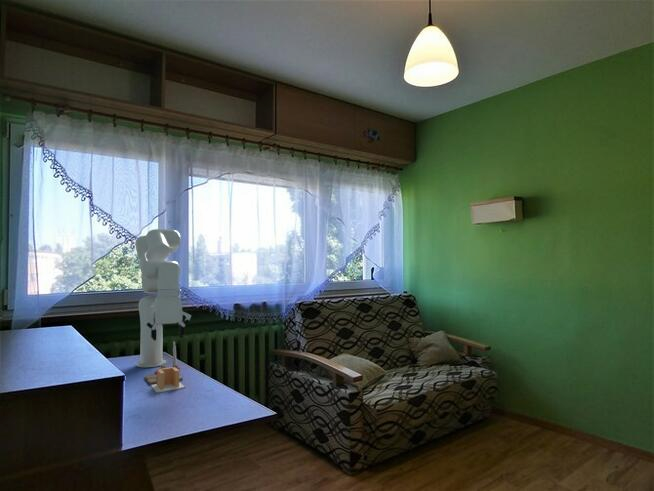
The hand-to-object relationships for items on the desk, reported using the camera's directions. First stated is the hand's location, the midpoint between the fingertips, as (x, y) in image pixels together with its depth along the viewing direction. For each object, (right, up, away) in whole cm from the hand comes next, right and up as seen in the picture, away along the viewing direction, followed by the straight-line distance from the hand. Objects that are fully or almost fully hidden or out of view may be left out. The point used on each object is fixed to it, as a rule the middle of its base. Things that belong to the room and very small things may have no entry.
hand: (167, 338), depth 159 cm
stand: (-5, -19, +9) cm, 22 cm away
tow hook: (-9, -20, +22) cm, 30 cm away
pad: (0, -18, -1) cm, 18 cm away
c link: (0, -18, -1) cm, 18 cm away
